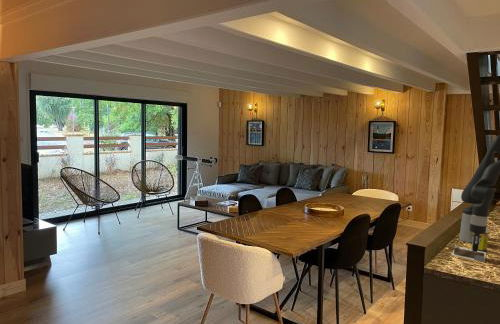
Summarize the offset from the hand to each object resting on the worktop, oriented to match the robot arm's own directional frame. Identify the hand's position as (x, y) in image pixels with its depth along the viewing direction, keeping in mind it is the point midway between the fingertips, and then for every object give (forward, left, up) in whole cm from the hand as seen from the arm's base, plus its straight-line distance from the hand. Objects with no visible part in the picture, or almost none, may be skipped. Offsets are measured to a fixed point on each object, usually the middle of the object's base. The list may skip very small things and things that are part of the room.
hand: (474, 255), depth 199 cm
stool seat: (-2, -3, -2) cm, 4 cm away
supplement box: (-23, +1, -2) cm, 23 cm away
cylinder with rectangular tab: (-58, 0, -2) cm, 58 cm away
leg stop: (+7, +2, -1) cm, 7 cm away
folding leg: (+4, -2, 0) cm, 5 cm away
